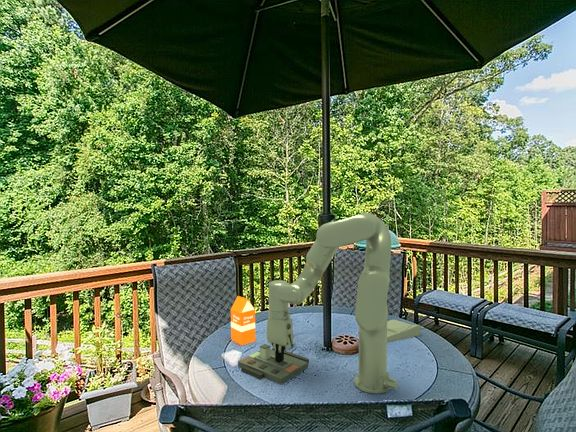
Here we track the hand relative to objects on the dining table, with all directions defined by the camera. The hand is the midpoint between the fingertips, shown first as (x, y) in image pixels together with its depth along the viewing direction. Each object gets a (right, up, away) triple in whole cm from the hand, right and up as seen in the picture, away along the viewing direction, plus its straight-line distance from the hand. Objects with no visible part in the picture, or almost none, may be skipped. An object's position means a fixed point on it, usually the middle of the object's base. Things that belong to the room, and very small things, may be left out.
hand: (279, 360), depth 136 cm
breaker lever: (-6, -1, +5) cm, 8 cm away
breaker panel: (-3, -3, +2) cm, 5 cm away
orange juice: (-17, -2, +29) cm, 34 cm away
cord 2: (+4, -3, +10) cm, 11 cm away
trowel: (+52, -2, +32) cm, 61 cm away
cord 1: (-10, -4, -4) cm, 11 cm away
